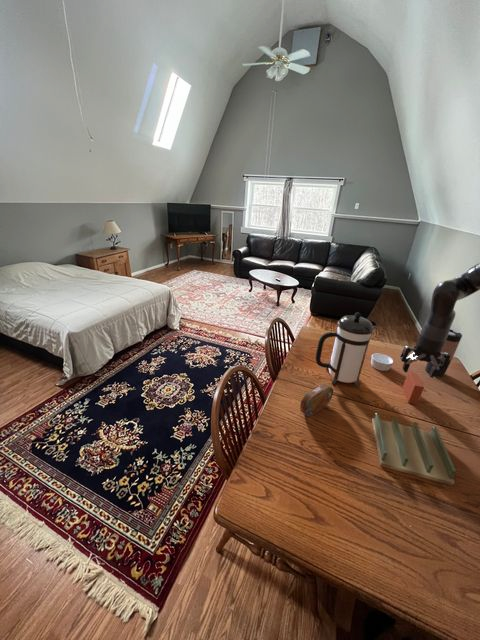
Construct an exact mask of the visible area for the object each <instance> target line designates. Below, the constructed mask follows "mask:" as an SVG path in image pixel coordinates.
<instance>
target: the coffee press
mask: <svg viewBox="0 0 480 640" xmlns="http://www.w3.org/2000/svg"><path fill="white" fill-rule="evenodd" d="M372 334H375V331H374V327H373V323H372V322H371V321H370V320H369V319H367V318H365V317H364V316H362V314H361V313H360V312H355V313H354V314H349V315H344V316H342V317H341V318H339V320H338V321H337V328H336V332H333V331H328V332H325V333H323V334H322V335H321V336H320V337H319V339H318V342H317V347H316V353H315V361H316V364H317V365H318V366H319V367H321V368H325V370H326V371H327V372H328V373H329V375H330V376H331V377H332V378H333V380H332V381H331V384H332V385H333V386H336V385H337V384H338V382H341V383H345V384H351V383H354V385H355V387H357V388H358V387H360V386H361V381H360V375H361V373H362V368H363V365H364V361H365V359H366V354H367V351H368V349H369V348H368V347H369V344H370V342H371V337H372ZM328 338H334V343H333V348H332V351H331V356H330V360H329V362H322V360H321V357H322V351H323V346H324V343H325V341H326V340H327V339H328Z"/></svg>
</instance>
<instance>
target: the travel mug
mask: <svg viewBox="0 0 480 640" xmlns="http://www.w3.org/2000/svg"><path fill="white" fill-rule="evenodd" d="M462 337H463V334H462V333H461V332H457V331H454V330H453V329H451V328H450V331H449V334H448V337H447V339H446V341H445V344H444V346H443V348H442V350H441V352H442V353H444V352H447V353H448V354H449V355H450V359H449V361H448V364H447V367H446V369H444V370H443V369H439V370H438V371H437V373H436V376H435V377H437V378H438V377H439V378H443V377H444V376H445V374H446V372H447V371H448V368H449V366H450V365H451V362H452V360H453V358H454V356H455V354H456V351H457V349H458V347H459V344H460V342H461V340H462ZM441 359H442V358H441V356H440V357H438V358H436V359H435V360H436V362H437V364H440V362H441ZM432 366H434V365H433V363H432V362H426V365H425V367H424V370H425V372H426V373H427V374H429V372H430V370H431V368H432Z"/></svg>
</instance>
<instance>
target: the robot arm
mask: <svg viewBox="0 0 480 640" xmlns="http://www.w3.org/2000/svg"><path fill="white" fill-rule="evenodd" d="M479 291H480V262H478V263H476V264H475V265H473V266H471V267H470V268H468V270H466V272H464V273H462V274H460V275H458V276H456V277H454V278H452V279H447V280H443V281H441V282H439V283H438V284H437V285H436V286H435V287H434V289H433V292H432V295H431V300H430V310H429V312H428V315H427V317H426V320H425V322H424V324H423V326H422V327H421V330H420V333H419V336H418V338H417V341H416V344H415V346H414V347H413V346H409V345H408V344H405V345H404V348H403V350H402V351H401V354H400V356H399V358H400V360H401V362H402V363H403V365H402V370H403V372H404V373H407V374H408V372H409V368H410V366H411V364H412V363H415V362H417V361H420V362H426V363H427V362H432V363H433V365H434V366H432V368H431V370H430V372H429V373H428V376H429V378H434V377H437V376H436V373H437V371H438V370H439V369H443V370H444V369H446V367H447V364H448V361H449V359H450V355H449V354H448V353H447V352H444V353H442V352H441V350H442V348H443V346H444V344H445V341H446V339H447V337H448V334H449V331H450V329H451V327H452V325H453V323H454V320H455V318H456V311H455V310H454V309H455V306H456V303H457V301H460V300H463V299H465V298H468V297H469V296H471V295H473V294H475V293H476V292H479ZM409 354H410V355H409ZM440 356H441V358H442V359H441V362H440V364H437V362H436V360H435V359H436V358H438V357H440Z"/></svg>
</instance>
